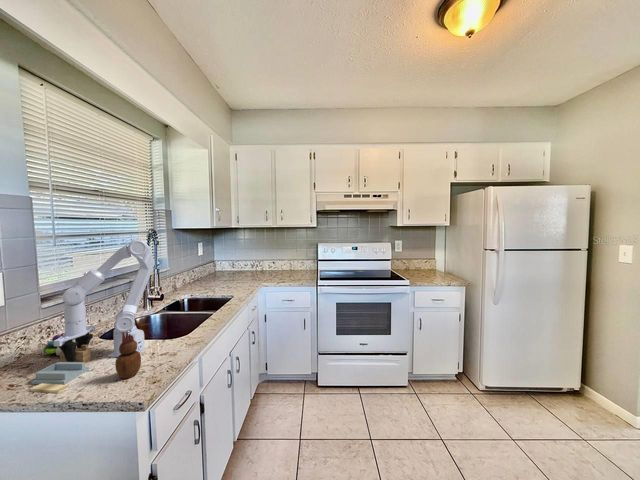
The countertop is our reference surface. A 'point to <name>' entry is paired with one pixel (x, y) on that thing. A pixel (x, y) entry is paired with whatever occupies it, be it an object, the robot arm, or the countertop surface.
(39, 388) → the plank
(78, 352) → the tan pegged block
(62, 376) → the jig
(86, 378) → the countertop surface
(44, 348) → the rainbow segmented toy
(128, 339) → the wooden figurine
